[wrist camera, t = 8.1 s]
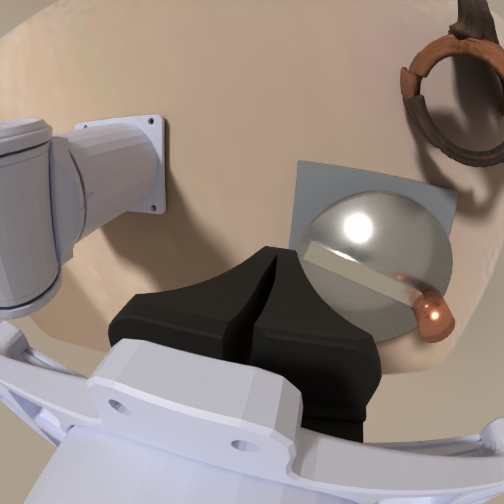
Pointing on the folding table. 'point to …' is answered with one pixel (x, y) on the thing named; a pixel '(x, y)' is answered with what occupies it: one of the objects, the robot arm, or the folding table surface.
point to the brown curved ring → (455, 43)
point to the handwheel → (381, 264)
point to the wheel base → (355, 181)
